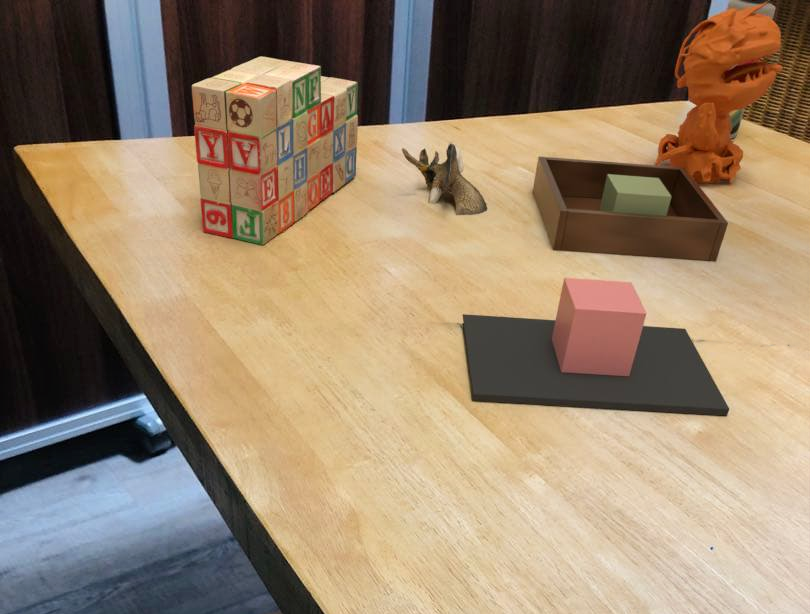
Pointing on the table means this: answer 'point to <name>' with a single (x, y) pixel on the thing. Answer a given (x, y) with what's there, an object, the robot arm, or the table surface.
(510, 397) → the mat
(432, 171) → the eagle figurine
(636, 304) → the pink block
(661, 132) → the table surface
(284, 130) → the stack of blocks
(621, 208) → the green block
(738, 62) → the toy dinosaur
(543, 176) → the crate
